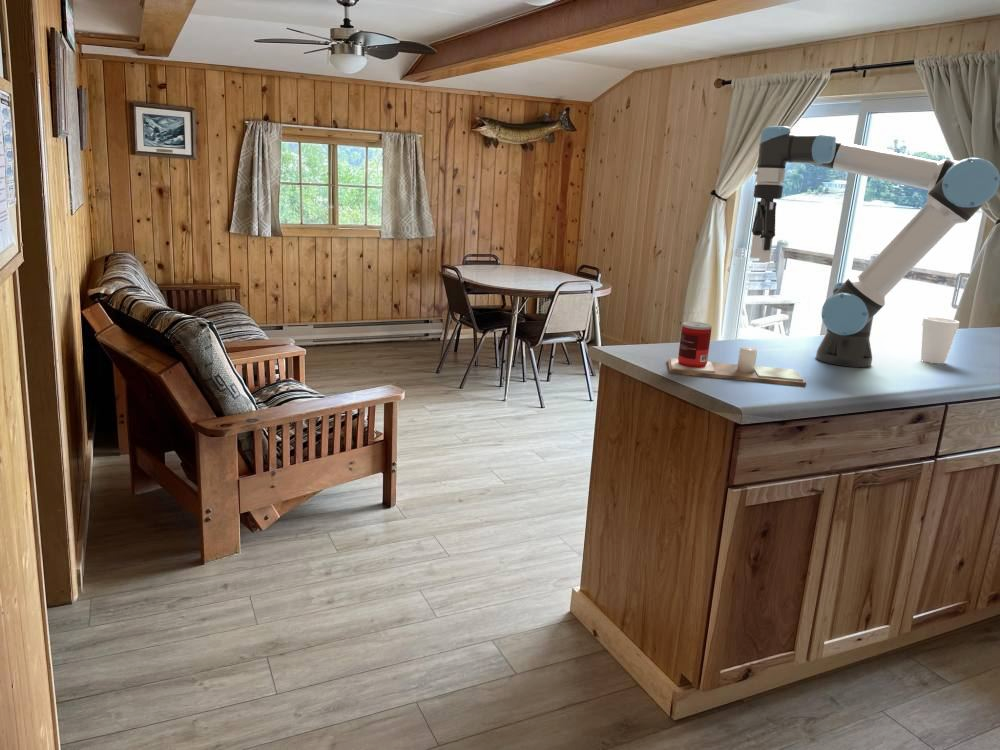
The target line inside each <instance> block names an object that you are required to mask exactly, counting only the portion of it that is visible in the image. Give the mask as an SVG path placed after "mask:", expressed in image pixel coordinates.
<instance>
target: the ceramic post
mask: <svg viewBox="0 0 1000 750" xmlns="http://www.w3.org/2000/svg"><path fill="white" fill-rule="evenodd" d="M738 353H739V354H738V360H737V361H738V362H737V364H738V366H737V371H740V372H744V373H754V370H755V366H756V364H757V363H756V361H757V355H758V349H757V348H754V347H750V346H749V347H748V346H742V347H739V352H738Z"/></svg>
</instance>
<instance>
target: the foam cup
mask: <svg viewBox="0 0 1000 750" xmlns="http://www.w3.org/2000/svg"><path fill="white" fill-rule="evenodd" d="M959 325H960V321H959V320H956V319H952V318H945V317H938V316H924V317H923V318H922V325H921V326H922V331H921V332H922V335H921V353H920V354H921V355H920V358H921V359H920V360H921V361H922V360H923V361H922V362H924V361H925V363H927V362H930V363H929V364H933V363H944V362H946V360H947V358H948V354H949V352H950V350H951V348H952V344H953V341H954V339H955V336H956V334H957V331H958V330H959ZM944 364H945V363H944Z"/></svg>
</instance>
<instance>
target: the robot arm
mask: <svg viewBox="0 0 1000 750" xmlns="http://www.w3.org/2000/svg"><path fill="white" fill-rule="evenodd" d="M836 138H837V137H836V136H835V135H834V134H826V133H820V134H817V133H816V134H814V133H813V134H812V133H811V134H810V133H807V134H804V133H803V134H796V133H791V127H790V126H785V125H781V126H779V125H771V126H769V125H768V126H765V127H764V128H763V129H762V132H761V137H760V141H759V145H758V146H759V147H758V148H759V149H758V159H757V167H756V168H757V169H756V171H754V175H756V176H755V182H756V183H757V184H755V185H754V190H753V198H755V199H760V200H758V201H757V202H756V204H757V206H756V211H755V215H754V219H753V224H752V228H751V233H752V237H751V238H752V239H751V240H752V241H751V247H750V248H751V249H750V255H749V258H752V259H758V262H759V263H770V262H771V261H770V260H771V253H772V245H773V238H774V237H776V210H777V201H774V200H775V199H776V200H777V199H778V200H781V198H782V195H783V185H782V184H784V182H785V175H786V164H787V163H789V164H790V163H793V164H794V163H799V164H809V165H812V166H817V167H823V168H826V169H827V168H828V169H832V170H836V171H842V172H846V173H851V174H854V175H861V176H863V177H864V176H865V177H869V178H873V179H878V180H881V181H882V180H883V181H887V182H891V183H894V184H901V185H904V186H907V187H908V186H909V187H912V188H917V189H922V190H926V191H928V193H927V194H926V204H925V205H924V206H923V207H922V208H921V209H920V210H919V211H918V212H917V214H915V215H914V217H912V219H910V221H909V222H908V223H907V224H906V225H905V226H904V227H903V228H902V230H900V232H898V234H897V235H896V236H895V237H894V238H893V239H892V240H891V241H890V242H889V243H888V245H886V247H884V248H883V249H882V251H881V252H879V254H878V255H877V256H876V257H875V258H874V259H873V260H872V261H871V262H870V263H869V264H868V266H866V268H865V269H863V271H861V273H860V274H859V275H858V276H851V277H850V276H849V277H848V278H847V280H846V281H845V282H841V281H840V282H836V283H835V285H834V288H833V289H832V296H830V297H828V298H827V299H826V300H825V301H824V303H823V306H822V308H821V320H822V322H823V325H824V326H825V328H826V333H825V334H824V337H823V339H822V340H821V343H820V344H819V346H818V348H817V350H816V354H815V359H817V360H819V361H820V362H823V363H827V364H830V365H834V366H842V367H851V368H853V367H854V368H867V366H868V367H871V366H872V362H873V353H872V348H871V341H870V337H871V331H872V325H873V320H874V317H875V315H876V314H878V312H880V311H881V309H882V308H883V307H884V306H885V304H886V302H885V301H886V300H885V299H886V298H885V297H886V296H887V295H888V294H889V293H890V292H891V291H892V290H893V289H894V288H895V287H896V286H897V285H898V283H900V281H901V280H902V279H904V277H905V276H906V275H907V274H908V273H909V272H910V271H912V269H913V268H915V266H917V264H918V263H920V261H921V260H922V259H923V258H924V257H925V256H926V255H927V254H928V253H929V252H930V251H931V250H932V249H933V248H934V247H935V246H936V245H937V244H938V242H939V241H941V240H942V238H944V236H945V235H946V234H948V232H949V231H951V230H952V228H953V227H955V226H956V225H957V224H964V223H967V222H968V221H969V220H970V219H971V218H972V217H973V216H974V215H975V214H976V213H977V212H978V211H979V210H980V209H981V208H982V207H983V206H984V205H985V204H986V203H987V202H989V201H990V200H991V199H992V198H993V197H994V196H995V195H996V193H997V192H998V189H999V187H1000V171H999V169H998V168H997V166H996V165H995V164H993V163H992V162H991V161H989V160H987V159H985V158H982V157H976V156H975V157H974V156H972V157H967V158H962V159H960V160H954V159H953V160H952V159H948V158H943V159H942V160H939V161H938V160H933V159H927V158H924V157H923V158H922V157H919V156H913V155H908V154H903V153H898V152H895V151H894V152H893V151H888V150H883V149H878V148H873V147H870V146H864V145H858V144H855V143H850V142H844V141H839V140H837V139H836Z"/></svg>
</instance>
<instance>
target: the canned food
mask: <svg viewBox="0 0 1000 750" xmlns="http://www.w3.org/2000/svg"><path fill="white" fill-rule="evenodd" d="M711 337H712V324H709V323H706V322H702V321H701V322H700V321H684V322H682V324H681V330H680V339H679V348H678V356H677V357H678V358H677V359H678V362H679V364H680V365H682V366H686V367H692V368H702V367H705V366H706V364H707V361H708V358H709V351H710V343H711Z"/></svg>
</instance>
